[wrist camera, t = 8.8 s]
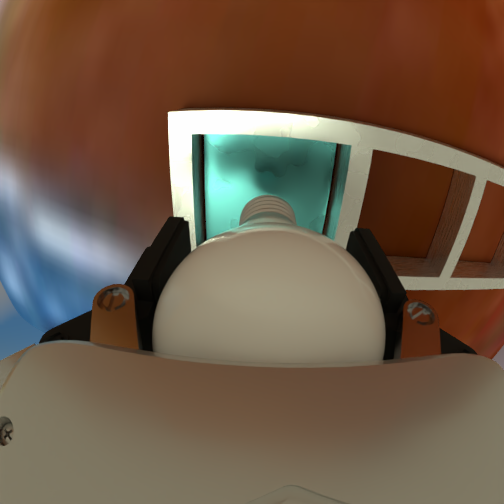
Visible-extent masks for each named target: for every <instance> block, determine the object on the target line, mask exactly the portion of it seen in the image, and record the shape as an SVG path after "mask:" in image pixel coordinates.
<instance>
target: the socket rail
mask: <svg viewBox="0 0 504 504" xmlns="http://www.w3.org/2000/svg"><path fill="white" fill-rule="evenodd" d="M168 130H169V155H170V173H171V188H172V201H173V212H174V217H184V220H185V221H188V222H189V230H190V242H191V252H192V251H193V250H194V249H195V248H197V247H198V246H199V245H201V244H202V243H204V242H205V234H204V211H203V179H202V134H204V168H205V209H206V234H207V240H208V239H210V238H212V237H213V236H215V235H217V234H219V233H222V232H224V231H226V230H229V229H232V228H235V227H238V226H239V221H240V216H241V212H242V210H243V208H244V206H245V205H246V204H247V203H248V202H249V201H250V200H252V199H253V198H255V197H258V196H261V195H274V196H278V197H280V198H282V199H284V200H285V201H287V202H288V203H289V204H290V206H291V207H292V209H293V211H294V213H295V218H296V223H297V225H298V226H302V227H305V228H308V229H311V230H314V231H316V232H318V233H321V234H322V231H323V226H324V220H325V215H326V209H327V204H328V198H329V192H330V185H331V179H332V173H333V166H334V159H335V152H336V144H337V143H339V144H338V151H337V158H336V165H335V172H334V178H333V184H332V190H331V196H330V202H329V208H328V213H327V219H326V224H325V229H324V234H323V235H325V236H326V237H328V238H330V239H332V240H333V241H335V242H336V243H338V244H339V245H340V246H342V247H343V248H344V249H345V250H346V246H347V242H348V238H349V234H350V232H351V231H354V230H355V228H357V225H358V221H359V216H360V212H361V208H362V203H363V199H364V194H365V189H366V185H367V180H368V174H369V169H370V164H371V158H372V152H373V149H375V150H380V151H385V152H390V153H395V154H399V155H404V156H408V157H412V158H416V159H420V160H424V161H428V162H432V163H436V164H439V165H443V166H446V167H449V168H453V169H454V174H453V178H452V181H451V185H450V189H449V192H448V196H447V199H446V203H445V206H444V209H443V212H442V215H441V218H440V221H439V224H438V227H437V230H436V233H435V236H434V238H433V241H432V244H431V246H430V249H429V252H428V254H427V257H426V258H413V257H398V256H386V257H387V259H388V260H389V262H390V264H391V265H392V267H393V269H394V271H395V272H396V274H397V276H398V278H399V280H400V281H401V283H402V285H403V287H404V289H405V290H468V289H503V288H504V233H503V236H502V238H501V241H500V243H499V245H498V248H497V250H496V252H495V254H494V257H493V259H492V261H491V263H486V262H471V261H458V260H459V257H460V255H461V253H462V250H463V248H464V246H465V243H466V241H467V238H468V236H469V233H470V230H471V228H472V225H473V222H474V219H475V217H476V214H477V211H478V208H479V205H480V202H481V198H482V195H483V192H484V188H485V185H486V181H487V180H489V181H491V182H494V183H497V184H499V185H502V186H504V167H503V166H501V165H499V164H496V163H494V162H492V161H490V160H487V159H485V158H482V157H480V156H478V155H475V154H473V153H470V152H467V151H465V150H462V149H459V148H457V147H454V146H451V145H448V144H445V143H442V142H439V141H436V140H433V139H430V138H427V137H423V136H420V135H416V134H413V133H409V132H405V131H402V130H398V129H394V128H390V127H385V126H381V125H377V124H372V123H367V122H362V121H357V120H352V119H346V118H340V117H334V116H327V115H320V114H313V113H304V112H295V111H285V110H272V109H255V108H184V109H178V110H174V111H171V112H168Z"/></svg>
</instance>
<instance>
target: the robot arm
mask: <svg viewBox="0 0 504 504" xmlns="http://www.w3.org/2000/svg"><path fill="white" fill-rule="evenodd" d="M346 250H347V251H348V252H349V253H350V254H351V255H352V256H353V257H354V258H355V259H356V260H357V261H358V262H359V264H360V265H361V266H362V267H363V269H364V270H365V271H366V273H367V274H368V276H369V277H370V279H371V281H372V283H373V285H374V287H375V289H376V291H377V293H378V296H379V299H380V302H381V305H382V309H383V313H384V319H385V328H386V342H385V352H384V358H383V360H380V361H366V362H347V363H262V362H243V361H229V360H216V359H206V358H196V357H187V356H179V355H171V354H164V353H157V352H153V349H152V326H153V319H154V314H155V310H156V306H157V303H158V300H159V297H160V295H161V292H162V290H163V288H164V286H165V284H166V283H167V281H168V279H169V277H170V276H171V274H172V273H173V272H174V270H175V269H176V268H177V266H178V265H179V264H180V263H181V262H182V261H183V259H184V258H185V257H186V256H187V255H188V254H190V253H191V242H190V230H189V222H188V221H185V220H184V217H169V218H168V219H167V221H166V223H165V224H164V226H163V227H162V229H161V230H160V232H159V234H158V235H157V237H156V238H155V240H154V242H153V243H152V245H151V246H150V247H147V248H146V249H145V251H144V252H143V254H142V256H141V257H140V259H139V261H138V262H137V264H136V266H135V267H134V269H133V271H132V272H131V274H130V276H129V277H128V279H127V281H126V283H125V284H124V285H122V284H113V285H110V286H107V287H105V288H103V289H101V290H100V291H99V292H98V293H97V294H96V296H95V297H94V300H93V306H92V310H91V311H89V312H86V313H84V314H82V315H80V316H78V317H76V318H74V319H71V320H69V321H67V322H65V323H63V324H61V325H59V326H57V327H54V328H52V329H50V330H49V331H47V332H46V333H45V334H44V335H43V336H42V338H41V340H40V342H39V344H37V345H35V344H33V345H31V346H29V347H27V348H25V349H23V350H21V351H19V352H16V353H14V354H13V355H10V356H9V357H7V358H5V359H3V360H1V361H0V504H504V370H503V369H502V368H501V366H500V365H499V364H498V363H497V362H495V361H493V360H492V359H489V358H487V357H483V356H480V355H477V353H476V352H475V351H474V350H473V349H472V348H470V347H469V346H467V345H466V344H464V343H463V342H461V341H459V340H458V339H456V338H455V337H453V336H451V335H450V334H448V333H447V332H445V331H443V330H442V329H440V328H439V318H438V315H437V313H436V311H435V310H434V308H433V307H432V306H430V305H429V304H428V303H426V302H424V301H421V300H417V299H412V300H408V298H407V296H406V291H405V289H404V287H403V285H402V283H401V281H400V280H399V278H398V276H397V274H396V272H395V271H394V269H393V267H392V265H391V264H390V262H389V260H388V259H387V257H386V255H385V254H384V252H383V250H382V249H381V247H380V245H379V244H378V242H377V240H376V239H375V237H374V236H373V234H372V232H371V231H370V230H369V229H364V228H355V230H354V231H351V232H350V234H349V238H348V242H347V246H346Z"/></svg>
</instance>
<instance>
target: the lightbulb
mask: <svg viewBox="0 0 504 504" xmlns="http://www.w3.org/2000/svg"><path fill="white" fill-rule="evenodd" d="M385 342H386V328H385V319H384V313H383V309H382V305H381V302H380V299H379V296H378V293H377V291H376V289H375V287H374V285H373V283H372V281H371V279H370V277H369V276H368V274H367V273H366V271H365V270H364V269H363V267H362V266H361V265H360V264H359V262H358V261H357V260H356V259H355V258H354V257H353V256H352V255H351V254H350V253H349V252H348V251H347V250H345V249H344V248H343V247H342V246H340V245H339V244H338V243H336V242H335V241H333V240H332V239H330V238H328V237H326V236H325V235H323V234H321V233H318V232H316V231H314V230H311V229H308V228H305V227H302V226H298V225H297V223H296V218H295V213H294V211H293V209H292V207H291V206H290V204H289V203H288V202H287V201H285V200H284V199H282V198H280V197H278V196H274V195H261V196H258V197H255V198H253V199H252V200H250V201H249V202H248V203H247V204H246V205H245V206H244V208H243V210H242V212H241V216H240V221H239V226H238V227H235V228H232V229H229V230H226V231H224V232H222V233H219V234H217V235H215V236H213V237H212V238H210V239H208V240H207V241H205V242H204V243H202V244H201V245H199V246H198V247H197V248H195V249H194V250H193V251H192V252H191V253H190V254H188V255H187V256H186V257H185V258H184V259H183V261H182V262H181V263H180V264H179V265H178V266H177V268H176V269H175V270H174V272H173V273H172V274H171V276H170V277H169V279H168V281H167V283H166V284H165V286H164V288H163V290H162V292H161V295H160V297H159V300H158V303H157V306H156V310H155V314H154V319H153V326H152V349H153V352H157V353H164V354H171V355H179V356H187V357H196V358H206V359H216V360H229V361H243V362H262V363H347V362H366V361H380V360H383V358H384V352H385Z"/></svg>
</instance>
